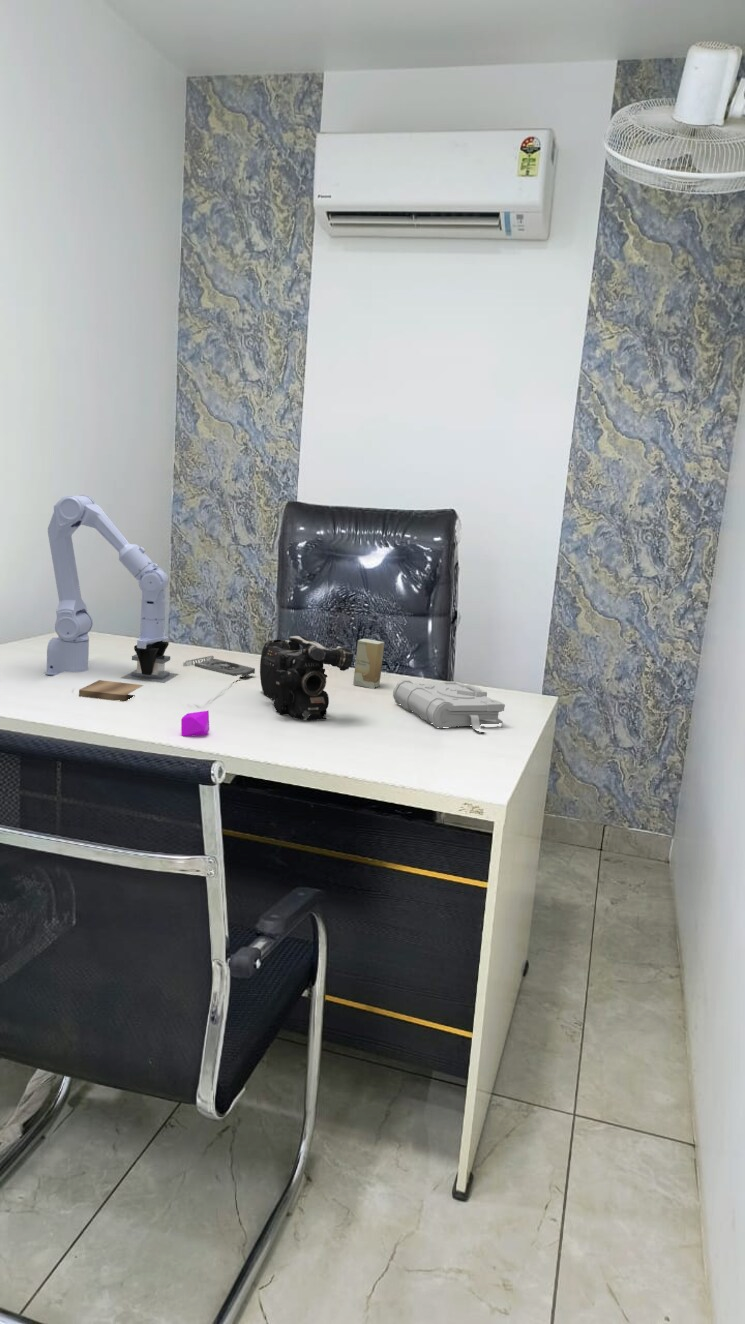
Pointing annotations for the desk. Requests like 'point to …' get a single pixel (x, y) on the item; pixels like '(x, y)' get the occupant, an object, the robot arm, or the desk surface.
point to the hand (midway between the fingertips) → (150, 672)
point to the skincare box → (368, 663)
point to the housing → (157, 668)
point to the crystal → (195, 723)
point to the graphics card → (221, 666)
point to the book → (448, 703)
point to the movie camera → (299, 675)
